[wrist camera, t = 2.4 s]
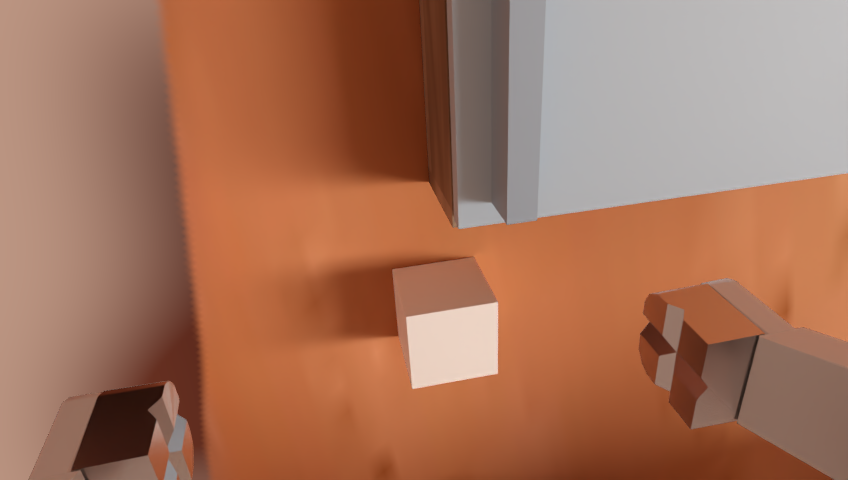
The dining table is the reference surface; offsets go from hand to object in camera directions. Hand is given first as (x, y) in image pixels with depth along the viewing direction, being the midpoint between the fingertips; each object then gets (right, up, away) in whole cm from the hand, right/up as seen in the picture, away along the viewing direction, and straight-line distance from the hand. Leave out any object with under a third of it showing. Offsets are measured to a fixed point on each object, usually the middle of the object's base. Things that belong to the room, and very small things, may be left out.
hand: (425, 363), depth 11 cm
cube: (+1, -1, +24) cm, 24 cm away
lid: (+11, +9, +14) cm, 20 cm away
